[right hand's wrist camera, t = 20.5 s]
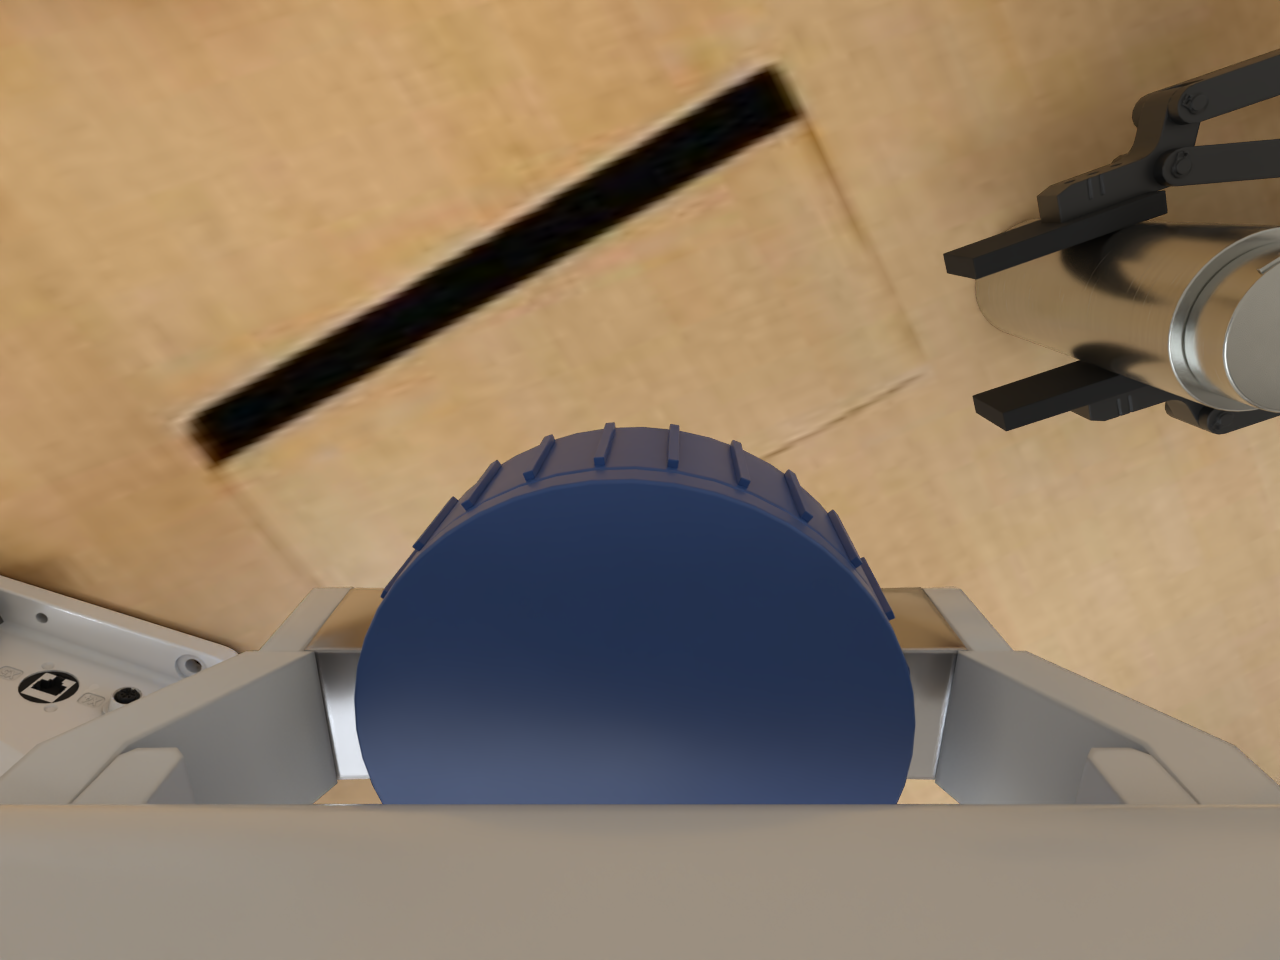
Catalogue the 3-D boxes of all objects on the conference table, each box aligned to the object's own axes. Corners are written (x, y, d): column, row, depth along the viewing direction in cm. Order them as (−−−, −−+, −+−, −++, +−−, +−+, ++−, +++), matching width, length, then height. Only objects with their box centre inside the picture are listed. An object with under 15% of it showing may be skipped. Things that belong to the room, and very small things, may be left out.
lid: (382, 412, 9) (308, 463, 7) (911, 427, 8) (970, 484, 7) (425, 817, 11) (377, 934, 9) (850, 840, 11) (883, 964, 9)
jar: (1111, 286, 33) (1449, 347, 19) (1010, 358, 35) (1257, 463, 20) (1056, 192, 32) (1375, 181, 18) (953, 269, 33) (1174, 317, 19)
